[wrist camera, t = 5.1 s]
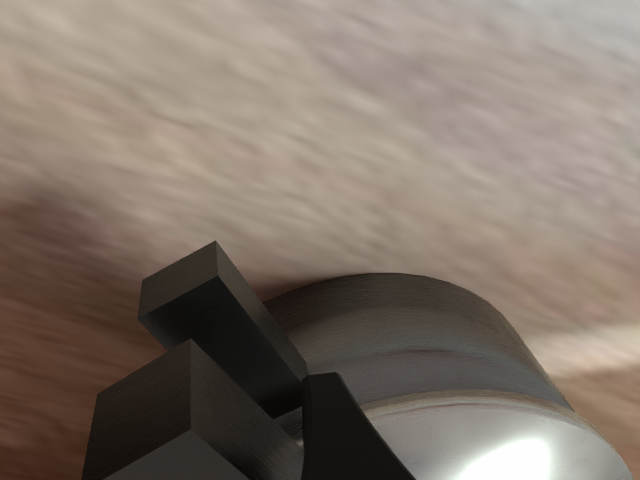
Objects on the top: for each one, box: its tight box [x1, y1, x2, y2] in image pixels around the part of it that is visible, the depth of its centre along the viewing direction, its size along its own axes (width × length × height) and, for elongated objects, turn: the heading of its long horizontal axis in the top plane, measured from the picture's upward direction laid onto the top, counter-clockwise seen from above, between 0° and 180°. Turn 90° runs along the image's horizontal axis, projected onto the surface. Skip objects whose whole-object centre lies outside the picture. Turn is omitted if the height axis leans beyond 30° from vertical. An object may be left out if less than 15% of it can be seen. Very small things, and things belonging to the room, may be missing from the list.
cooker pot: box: [138, 241, 576, 433], centre depth 21 cm, size 21×16×6 cm
